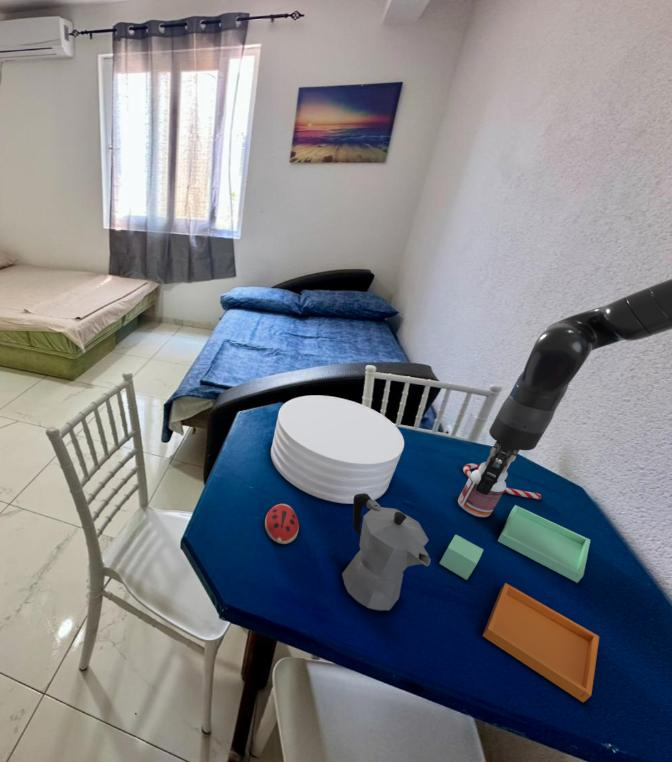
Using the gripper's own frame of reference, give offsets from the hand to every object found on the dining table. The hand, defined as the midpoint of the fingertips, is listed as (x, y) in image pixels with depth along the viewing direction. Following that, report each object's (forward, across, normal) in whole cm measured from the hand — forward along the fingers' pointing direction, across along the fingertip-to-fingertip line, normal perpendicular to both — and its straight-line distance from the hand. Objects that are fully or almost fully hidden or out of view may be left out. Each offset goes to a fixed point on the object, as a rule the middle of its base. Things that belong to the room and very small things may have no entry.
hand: (485, 484), depth 87 cm
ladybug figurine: (+7, -38, +25) cm, 46 cm away
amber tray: (+7, -26, -15) cm, 31 cm away
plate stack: (+7, -11, +29) cm, 32 cm away
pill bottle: (+7, 0, 0) cm, 7 cm away
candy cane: (+7, +14, -2) cm, 16 cm away
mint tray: (+7, -1, -12) cm, 14 cm away
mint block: (+7, -20, -2) cm, 21 cm away
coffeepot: (+7, -37, +8) cm, 38 cm away
